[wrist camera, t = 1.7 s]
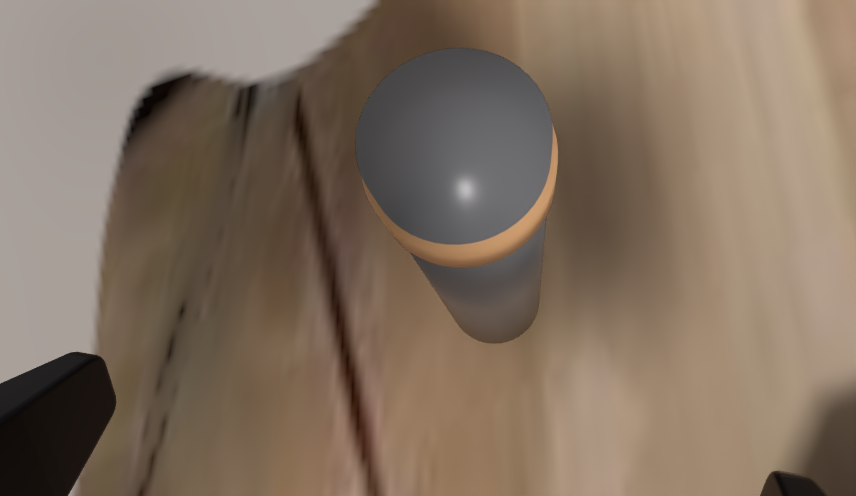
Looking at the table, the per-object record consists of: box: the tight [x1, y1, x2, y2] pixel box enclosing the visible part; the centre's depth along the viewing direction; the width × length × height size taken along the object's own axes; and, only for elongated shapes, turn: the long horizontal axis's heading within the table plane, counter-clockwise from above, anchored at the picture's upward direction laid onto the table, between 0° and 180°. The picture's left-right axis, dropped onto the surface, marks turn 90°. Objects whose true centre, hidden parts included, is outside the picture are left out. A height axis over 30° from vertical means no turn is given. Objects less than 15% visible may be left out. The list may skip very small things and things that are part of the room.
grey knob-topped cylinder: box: [355, 48, 558, 343], centre depth 15 cm, size 3×3×12 cm
